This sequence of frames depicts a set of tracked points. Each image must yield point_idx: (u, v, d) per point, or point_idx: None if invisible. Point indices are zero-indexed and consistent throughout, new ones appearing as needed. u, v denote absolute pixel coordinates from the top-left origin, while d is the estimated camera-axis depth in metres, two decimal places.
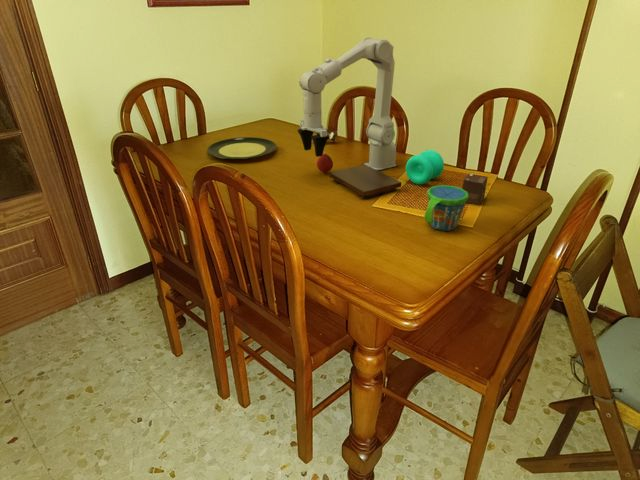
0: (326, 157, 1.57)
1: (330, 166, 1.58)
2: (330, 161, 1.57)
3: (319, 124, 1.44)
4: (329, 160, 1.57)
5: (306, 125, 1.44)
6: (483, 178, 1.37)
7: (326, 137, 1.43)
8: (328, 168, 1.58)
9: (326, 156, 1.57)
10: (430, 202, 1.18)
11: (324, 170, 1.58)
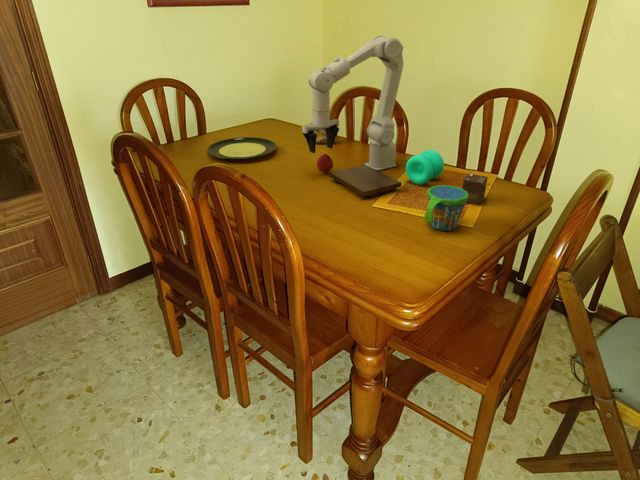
0: (326, 157, 1.57)
1: (330, 166, 1.58)
2: (330, 161, 1.57)
3: (316, 122, 1.48)
4: (329, 160, 1.57)
5: None
6: (483, 178, 1.37)
7: (309, 135, 1.47)
8: (328, 168, 1.58)
9: (326, 156, 1.57)
10: (430, 202, 1.18)
11: (324, 170, 1.58)
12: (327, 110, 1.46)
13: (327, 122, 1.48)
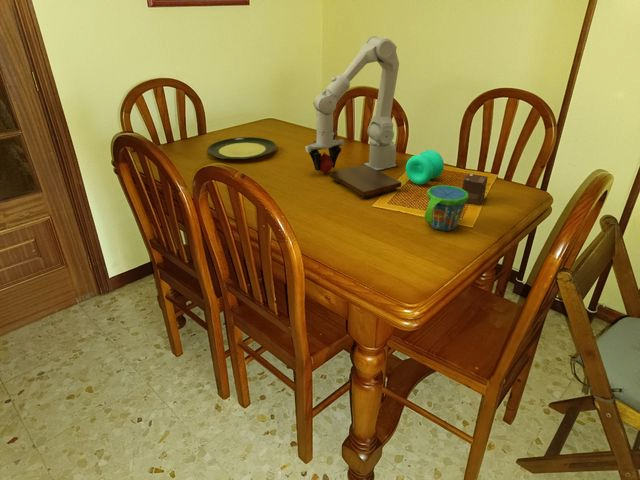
0: (326, 157, 1.57)
1: (330, 166, 1.58)
2: (330, 161, 1.57)
3: (319, 142, 1.54)
4: (329, 160, 1.57)
5: None
6: (483, 178, 1.37)
7: (313, 154, 1.54)
8: (328, 168, 1.58)
9: (326, 156, 1.57)
10: (430, 202, 1.18)
11: (324, 170, 1.58)
12: (330, 131, 1.52)
13: (330, 142, 1.54)
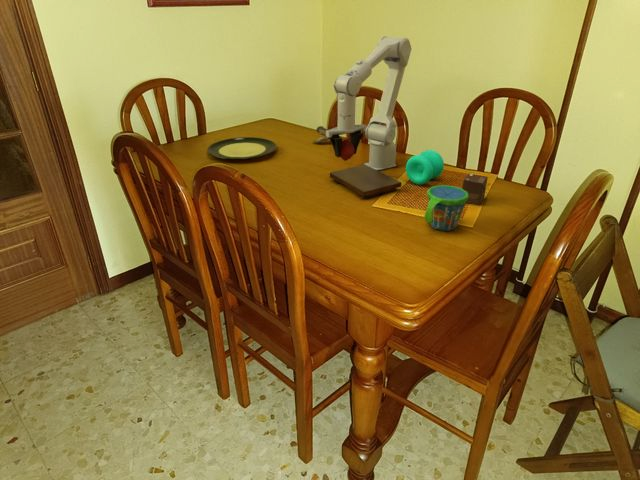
0: (347, 143, 1.48)
1: (351, 152, 1.49)
2: (351, 147, 1.49)
3: (340, 127, 1.45)
4: (350, 146, 1.48)
5: None
6: (483, 178, 1.37)
7: (334, 139, 1.45)
8: (349, 154, 1.49)
9: (347, 142, 1.48)
10: (430, 202, 1.18)
11: (345, 156, 1.49)
12: (354, 114, 1.44)
13: (352, 127, 1.45)
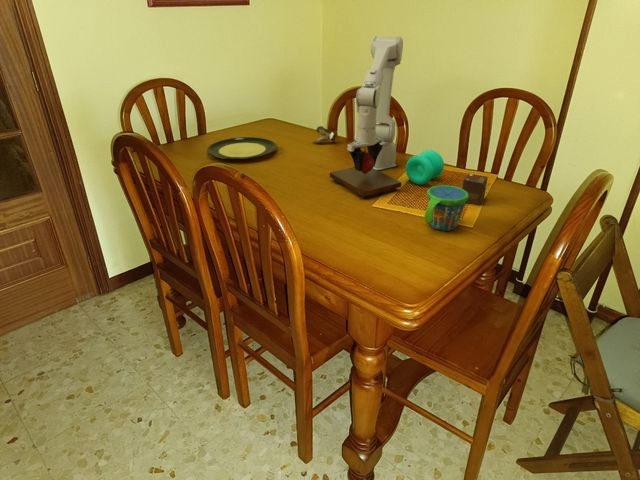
0: (368, 155, 1.45)
1: (372, 165, 1.46)
2: (372, 160, 1.46)
3: (362, 140, 1.41)
4: (371, 159, 1.45)
5: None
6: (483, 178, 1.37)
7: (357, 153, 1.41)
8: (370, 167, 1.46)
9: (368, 154, 1.45)
10: (430, 202, 1.18)
11: (366, 170, 1.46)
12: None
13: (373, 140, 1.42)
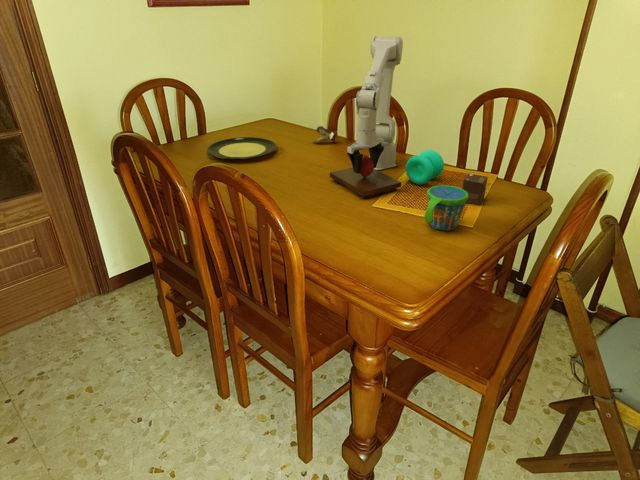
0: (367, 159, 1.46)
1: (372, 169, 1.47)
2: (372, 163, 1.46)
3: (362, 142, 1.42)
4: (371, 162, 1.46)
5: None
6: (483, 178, 1.37)
7: (355, 155, 1.41)
8: (370, 171, 1.47)
9: (367, 158, 1.46)
10: (430, 202, 1.18)
11: (366, 173, 1.47)
12: None
13: (373, 142, 1.42)
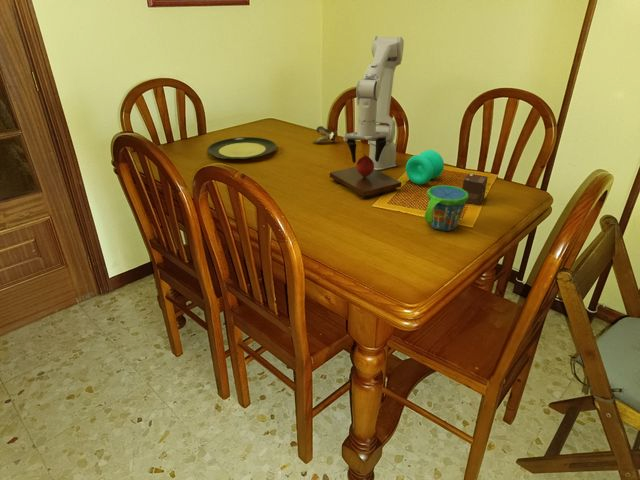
0: (367, 159, 1.46)
1: (372, 169, 1.47)
2: (372, 163, 1.46)
3: None
4: (371, 162, 1.46)
5: (370, 134, 1.40)
6: (483, 178, 1.37)
7: None
8: (370, 171, 1.47)
9: (367, 158, 1.46)
10: (430, 202, 1.18)
11: (366, 173, 1.47)
12: None
13: None
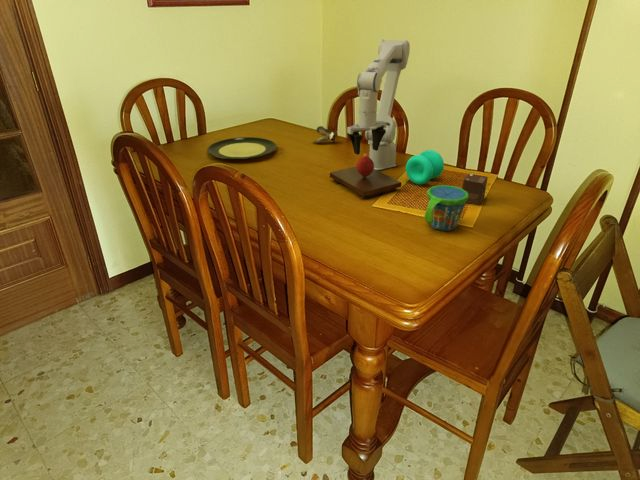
0: (367, 159, 1.46)
1: (372, 169, 1.47)
2: (372, 163, 1.46)
3: None
4: (371, 162, 1.46)
5: (374, 124, 1.45)
6: (483, 178, 1.37)
7: None
8: (370, 171, 1.47)
9: (367, 158, 1.46)
10: (430, 202, 1.18)
11: (366, 173, 1.47)
12: (376, 110, 1.45)
13: None
